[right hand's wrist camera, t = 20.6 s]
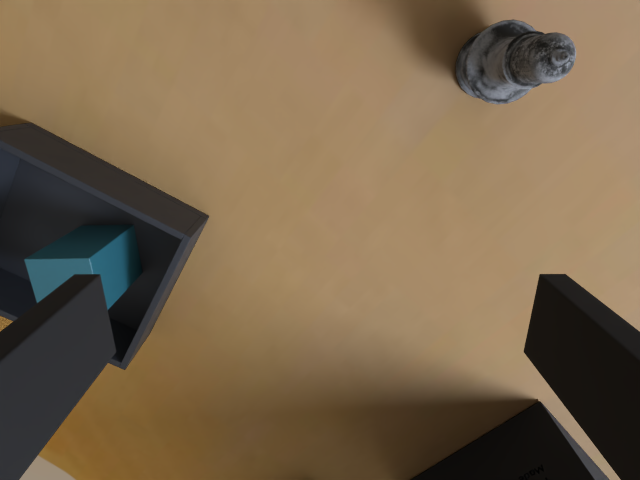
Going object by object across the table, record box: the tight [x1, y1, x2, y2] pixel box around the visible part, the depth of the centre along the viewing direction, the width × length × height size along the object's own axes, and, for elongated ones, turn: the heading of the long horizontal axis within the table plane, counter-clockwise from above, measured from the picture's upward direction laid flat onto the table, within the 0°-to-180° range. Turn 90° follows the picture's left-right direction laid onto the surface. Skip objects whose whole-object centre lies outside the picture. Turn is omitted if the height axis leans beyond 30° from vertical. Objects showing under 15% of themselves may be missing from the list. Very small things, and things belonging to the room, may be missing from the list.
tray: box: [0, 123, 209, 370], centre depth 36 cm, size 31×15×6 cm, turn 60°
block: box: [24, 225, 143, 309], centre depth 36 cm, size 5×5×8 cm
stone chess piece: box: [456, 20, 576, 104], centre depth 29 cm, size 6×6×12 cm
